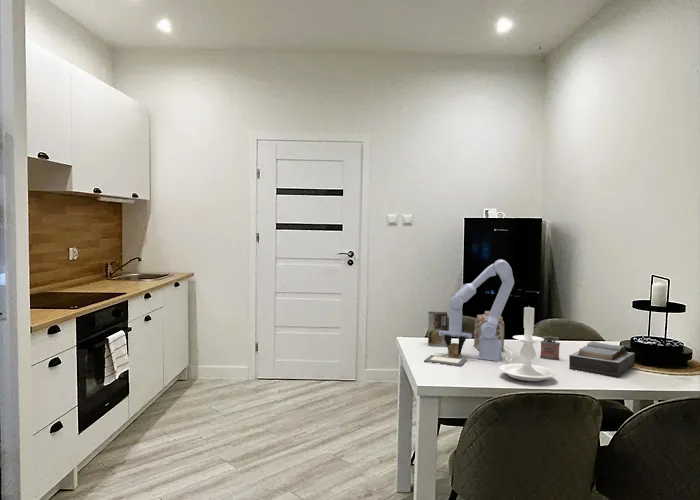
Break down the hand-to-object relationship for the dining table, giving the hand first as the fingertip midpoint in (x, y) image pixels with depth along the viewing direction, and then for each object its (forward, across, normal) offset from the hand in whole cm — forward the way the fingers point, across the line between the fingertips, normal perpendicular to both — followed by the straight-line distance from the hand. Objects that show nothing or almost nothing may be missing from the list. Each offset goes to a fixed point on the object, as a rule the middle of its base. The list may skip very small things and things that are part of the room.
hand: (454, 352), depth 243 cm
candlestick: (+2, +32, -22) cm, 39 cm away
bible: (+2, +60, +9) cm, 61 cm away
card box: (+1, 0, 0) cm, 1 cm away
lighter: (+2, +39, +16) cm, 42 cm away
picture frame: (+1, -1, -12) cm, 12 cm away
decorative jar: (+2, +11, +23) cm, 26 cm away
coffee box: (+2, -13, +19) cm, 23 cm away
